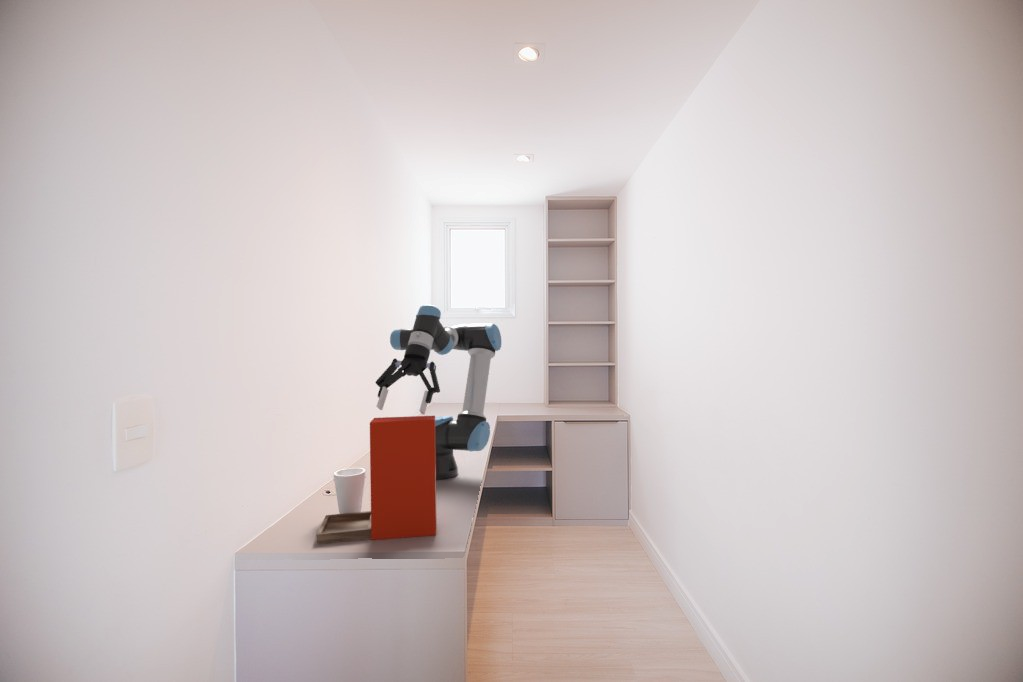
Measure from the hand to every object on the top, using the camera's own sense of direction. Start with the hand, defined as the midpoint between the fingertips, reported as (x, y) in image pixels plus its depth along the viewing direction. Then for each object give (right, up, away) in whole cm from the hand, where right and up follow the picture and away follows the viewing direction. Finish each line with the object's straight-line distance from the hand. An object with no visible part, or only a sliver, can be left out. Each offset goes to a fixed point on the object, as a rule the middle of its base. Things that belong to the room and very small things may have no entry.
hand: (400, 410), depth 133 cm
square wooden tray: (-14, -33, -5) cm, 37 cm away
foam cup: (-18, -34, +8) cm, 39 cm away
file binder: (+3, -33, -7) cm, 34 cm away
